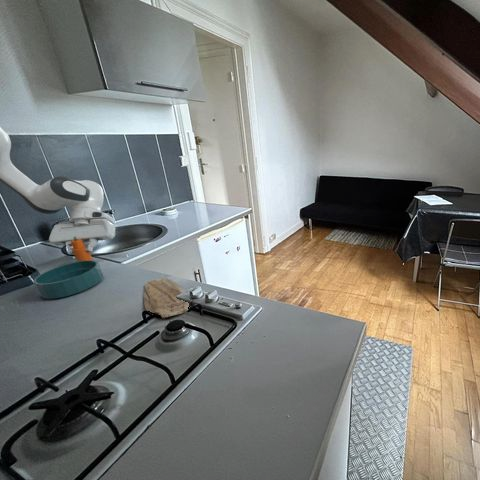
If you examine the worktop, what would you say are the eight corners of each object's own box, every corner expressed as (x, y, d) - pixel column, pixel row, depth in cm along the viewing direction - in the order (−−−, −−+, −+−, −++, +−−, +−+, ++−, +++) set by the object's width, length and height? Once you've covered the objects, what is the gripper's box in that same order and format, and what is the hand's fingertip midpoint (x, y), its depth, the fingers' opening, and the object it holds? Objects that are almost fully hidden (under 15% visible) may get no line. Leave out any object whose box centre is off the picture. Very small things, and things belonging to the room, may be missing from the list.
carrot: (82, 268, 96) (69, 239, 92) (78, 265, 98) (64, 237, 94) (96, 263, 99) (83, 235, 95) (91, 261, 101) (79, 233, 97)
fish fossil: (131, 289, 80) (130, 286, 79) (167, 277, 87) (166, 274, 86) (162, 323, 63) (160, 319, 63) (203, 305, 70) (202, 301, 70)
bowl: (52, 305, 74) (43, 289, 72) (34, 292, 82) (26, 277, 79) (112, 280, 86) (106, 265, 84) (92, 270, 93) (86, 257, 91)
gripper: (48, 218, 96) (40, 253, 91) (109, 212, 100) (105, 245, 95) (61, 226, 102) (55, 259, 97) (119, 220, 106) (115, 251, 101)
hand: (80, 252), depth 96 cm, fingers closed on carrot, 4 cm apart
